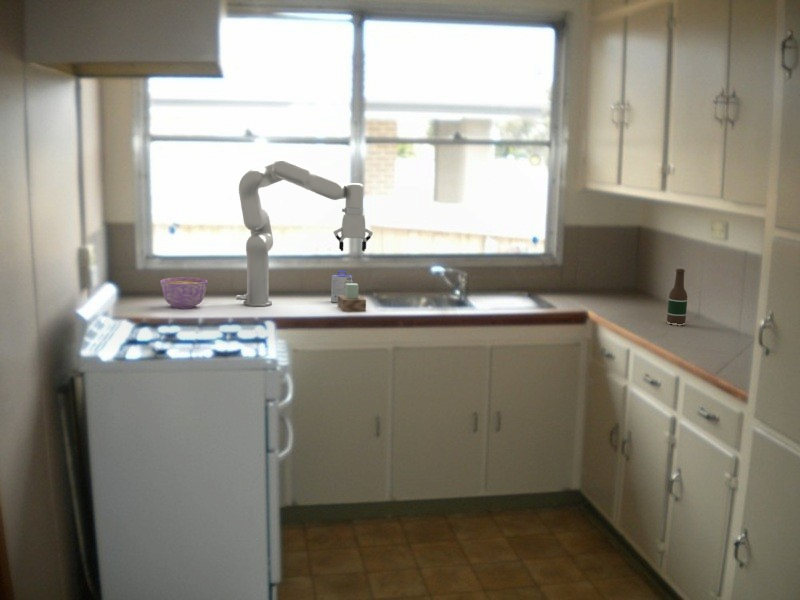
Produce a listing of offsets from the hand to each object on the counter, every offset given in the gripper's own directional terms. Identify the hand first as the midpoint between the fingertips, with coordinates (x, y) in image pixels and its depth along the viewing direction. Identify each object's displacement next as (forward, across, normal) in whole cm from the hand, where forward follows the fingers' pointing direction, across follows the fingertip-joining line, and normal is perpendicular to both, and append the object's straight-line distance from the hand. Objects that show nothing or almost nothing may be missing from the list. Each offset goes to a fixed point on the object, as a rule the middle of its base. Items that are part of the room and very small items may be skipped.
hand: (352, 250), depth 396 cm
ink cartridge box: (+26, -1, +18) cm, 32 cm away
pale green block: (+21, 0, 0) cm, 21 cm away
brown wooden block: (+26, 0, 0) cm, 26 cm away
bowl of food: (+27, -72, +8) cm, 77 cm away
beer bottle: (+25, +133, -47) cm, 143 cm away
